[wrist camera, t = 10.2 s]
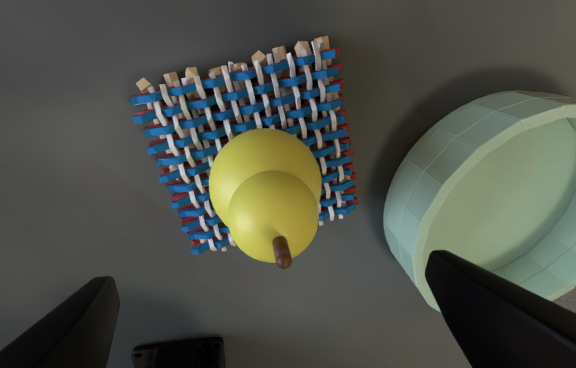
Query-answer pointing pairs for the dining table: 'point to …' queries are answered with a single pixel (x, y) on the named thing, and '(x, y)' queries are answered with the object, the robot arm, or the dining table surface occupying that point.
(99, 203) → the dining table surface
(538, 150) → the pan
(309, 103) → the woven mat
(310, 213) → the pear
